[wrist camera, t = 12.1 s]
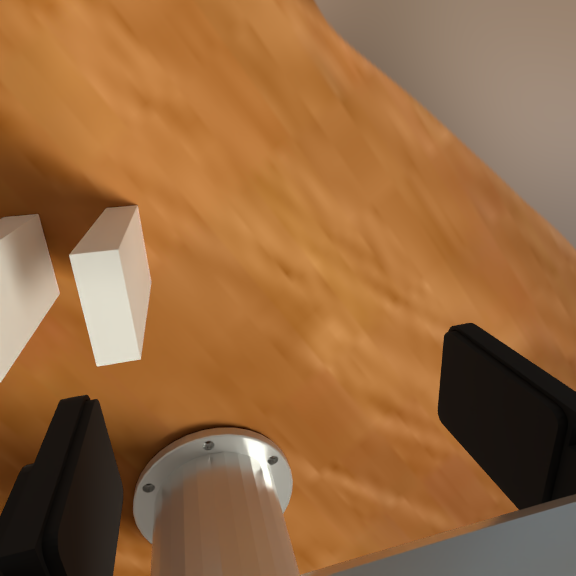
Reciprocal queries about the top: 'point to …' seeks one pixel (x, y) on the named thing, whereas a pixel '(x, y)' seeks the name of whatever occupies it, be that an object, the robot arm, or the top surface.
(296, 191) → the top surface
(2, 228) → the domino
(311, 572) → the robot arm
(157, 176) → the top surface
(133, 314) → the domino
